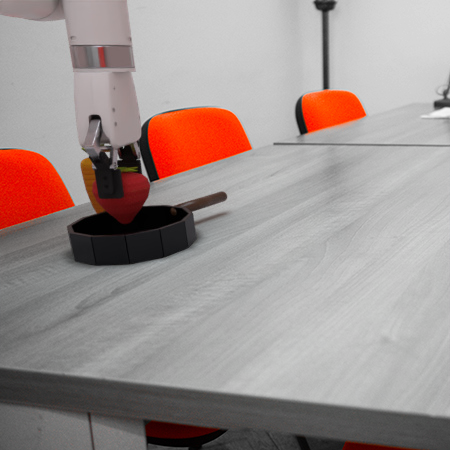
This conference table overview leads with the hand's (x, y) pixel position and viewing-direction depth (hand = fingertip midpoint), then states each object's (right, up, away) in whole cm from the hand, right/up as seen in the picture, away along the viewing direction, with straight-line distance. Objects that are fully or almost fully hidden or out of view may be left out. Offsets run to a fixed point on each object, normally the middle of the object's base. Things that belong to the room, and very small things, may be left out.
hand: (122, 191), depth 81 cm
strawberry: (0, -5, +1) cm, 5 cm away
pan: (+3, -6, +7) cm, 10 cm away
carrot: (-9, -5, +14) cm, 17 cm away
